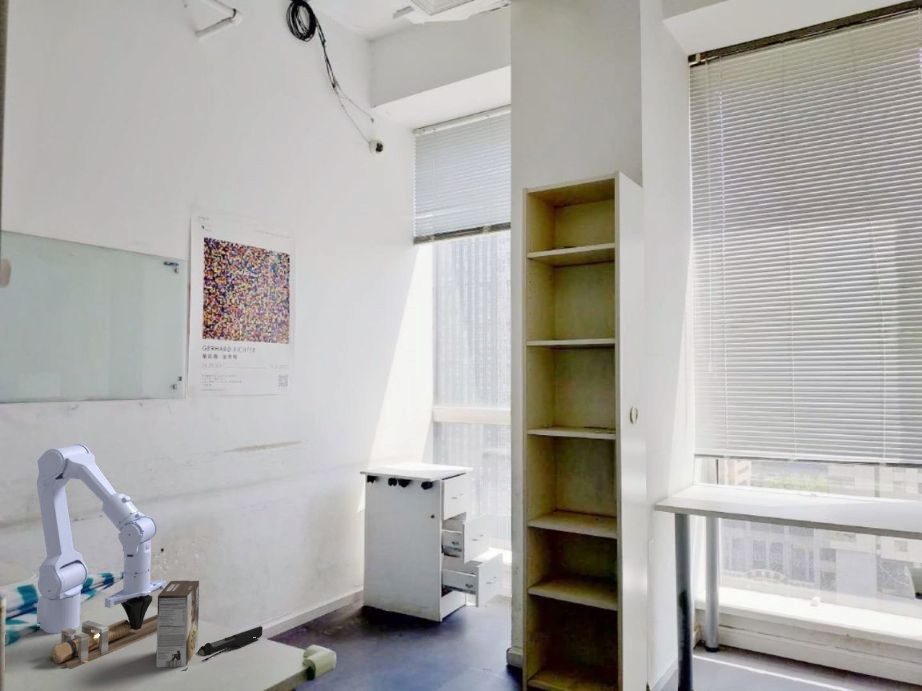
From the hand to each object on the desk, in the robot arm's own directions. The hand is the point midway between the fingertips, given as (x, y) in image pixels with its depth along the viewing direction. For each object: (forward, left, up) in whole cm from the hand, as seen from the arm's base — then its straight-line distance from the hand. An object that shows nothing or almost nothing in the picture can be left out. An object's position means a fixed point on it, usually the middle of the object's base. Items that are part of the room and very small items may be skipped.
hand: (135, 628), depth 152 cm
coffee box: (+19, -3, -2) cm, 19 cm away
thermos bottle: (0, -10, -1) cm, 10 cm away
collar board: (0, -5, -2) cm, 5 cm away
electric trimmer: (+24, +7, -2) cm, 25 cm away
